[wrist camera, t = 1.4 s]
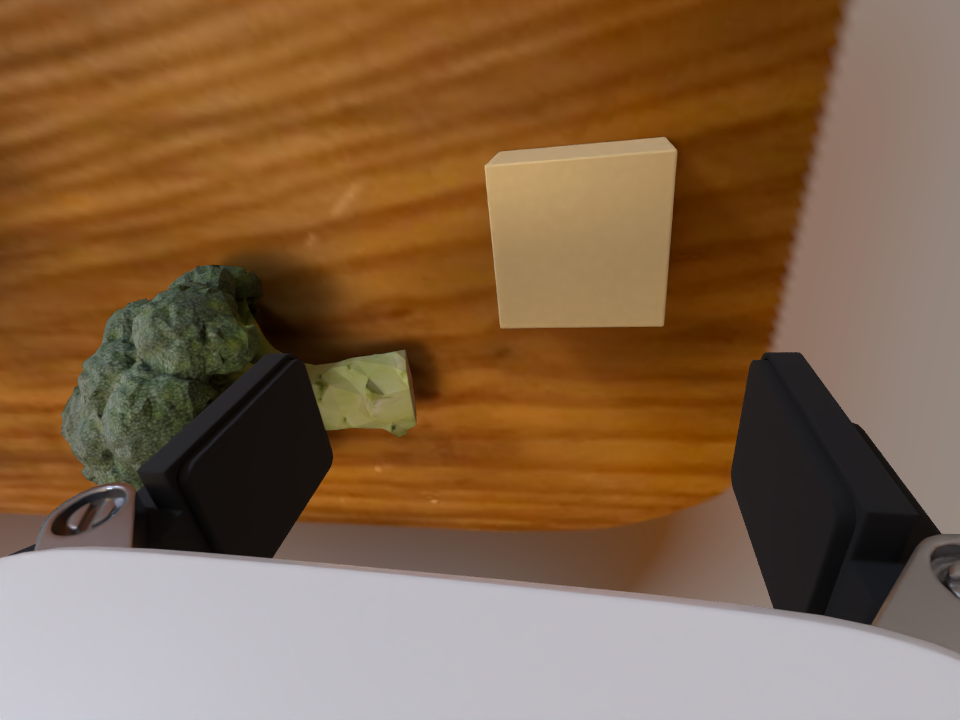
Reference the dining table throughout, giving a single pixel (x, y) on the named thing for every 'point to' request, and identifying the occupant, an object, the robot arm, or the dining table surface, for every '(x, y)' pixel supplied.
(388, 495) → the dining table surface
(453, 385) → the dining table surface
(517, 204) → the pad
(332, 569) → the robot arm
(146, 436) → the vegetable
